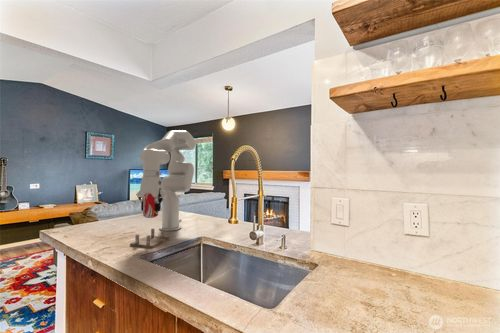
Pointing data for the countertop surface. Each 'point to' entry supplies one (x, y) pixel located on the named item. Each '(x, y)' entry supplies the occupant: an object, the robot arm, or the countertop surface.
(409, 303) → the countertop surface
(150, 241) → the pin tray
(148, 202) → the soda can
